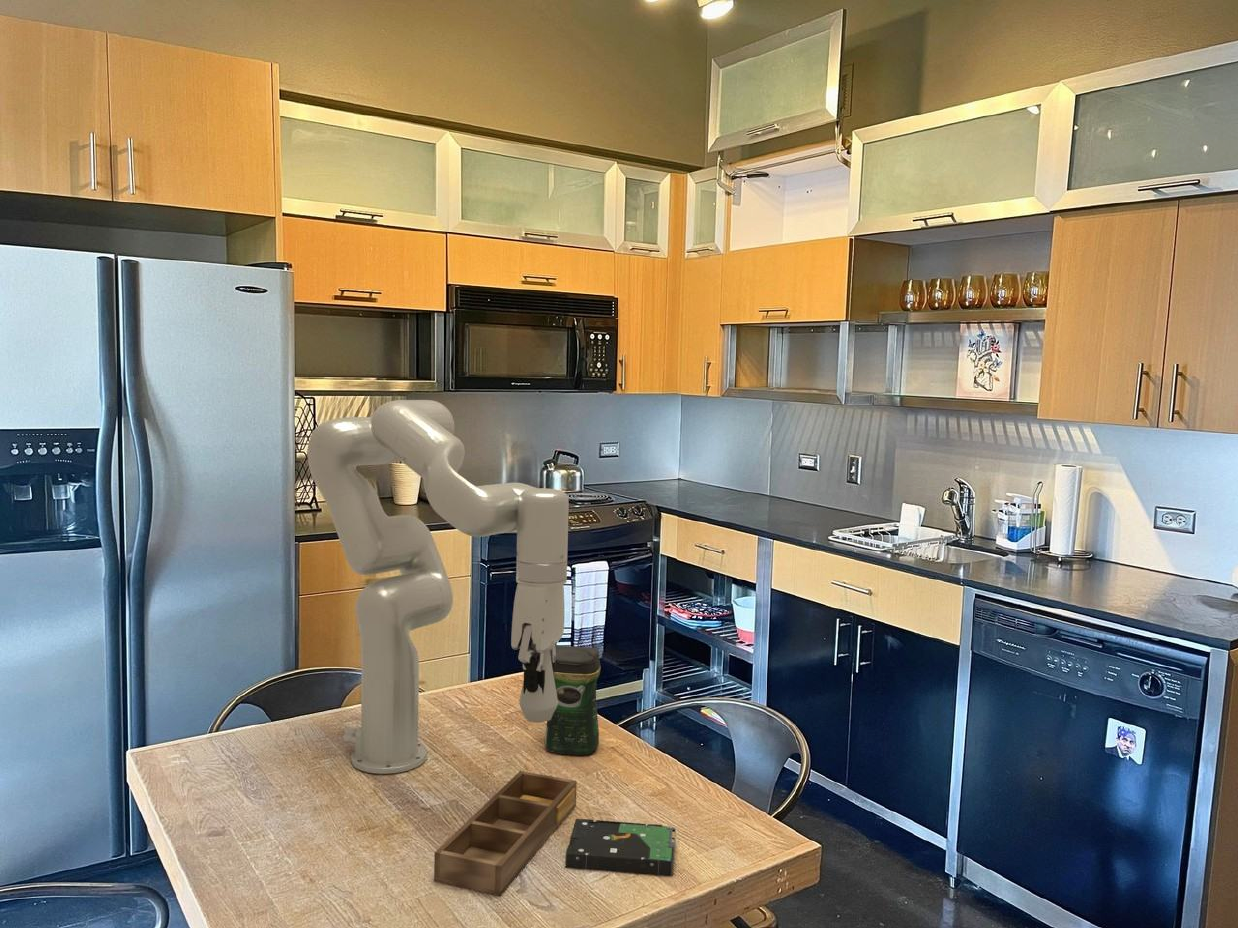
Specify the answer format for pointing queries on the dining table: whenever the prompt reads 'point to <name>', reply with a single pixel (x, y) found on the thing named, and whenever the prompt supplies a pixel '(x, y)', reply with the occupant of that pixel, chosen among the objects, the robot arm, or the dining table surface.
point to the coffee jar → (574, 702)
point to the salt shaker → (541, 694)
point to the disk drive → (621, 847)
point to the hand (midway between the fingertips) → (538, 690)
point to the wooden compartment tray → (505, 833)
